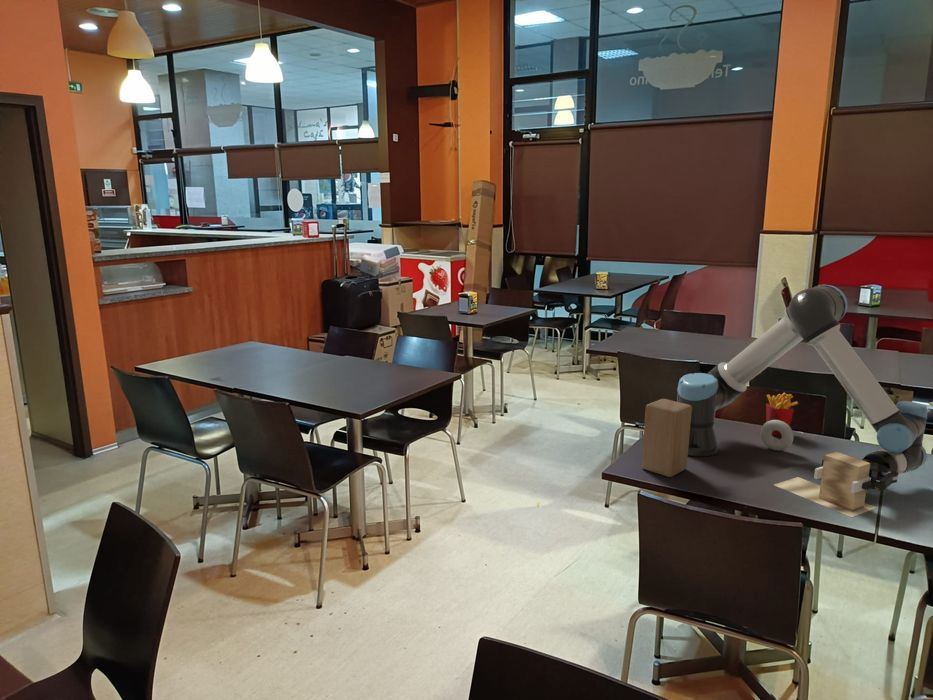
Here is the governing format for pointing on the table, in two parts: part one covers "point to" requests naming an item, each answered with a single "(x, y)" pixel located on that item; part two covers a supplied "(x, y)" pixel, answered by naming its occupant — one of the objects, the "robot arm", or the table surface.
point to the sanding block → (843, 480)
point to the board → (817, 495)
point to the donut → (783, 429)
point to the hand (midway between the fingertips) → (833, 480)
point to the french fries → (779, 410)
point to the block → (666, 437)
